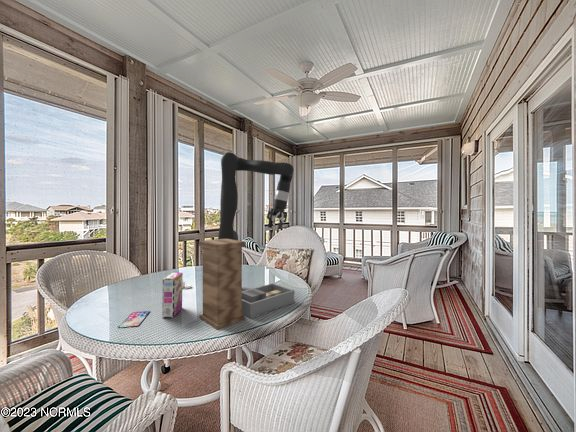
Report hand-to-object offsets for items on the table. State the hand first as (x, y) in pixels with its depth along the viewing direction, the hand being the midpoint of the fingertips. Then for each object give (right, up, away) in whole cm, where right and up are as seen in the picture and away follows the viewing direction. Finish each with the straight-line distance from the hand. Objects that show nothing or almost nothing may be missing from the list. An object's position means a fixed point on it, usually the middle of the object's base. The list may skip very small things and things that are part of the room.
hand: (274, 228), depth 144 cm
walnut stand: (-20, -35, -36) cm, 54 cm away
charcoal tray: (-5, -35, -21) cm, 41 cm away
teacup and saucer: (-51, -35, +2) cm, 62 cm away
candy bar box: (-43, -35, -30) cm, 63 cm away
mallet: (-4, -34, -20) cm, 40 cm away
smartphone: (-55, -36, -37) cm, 75 cm away
